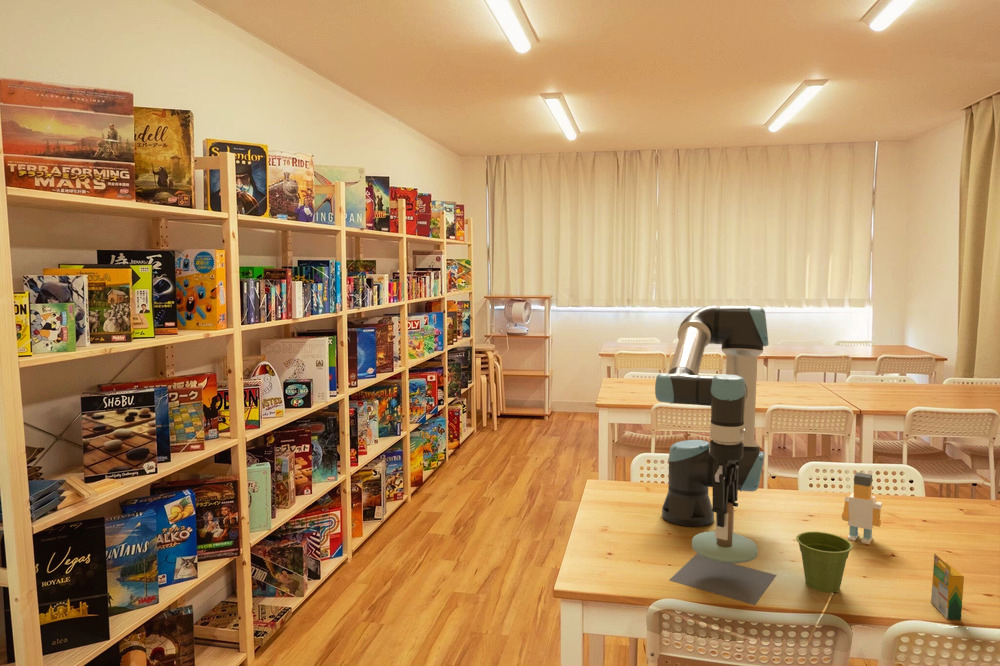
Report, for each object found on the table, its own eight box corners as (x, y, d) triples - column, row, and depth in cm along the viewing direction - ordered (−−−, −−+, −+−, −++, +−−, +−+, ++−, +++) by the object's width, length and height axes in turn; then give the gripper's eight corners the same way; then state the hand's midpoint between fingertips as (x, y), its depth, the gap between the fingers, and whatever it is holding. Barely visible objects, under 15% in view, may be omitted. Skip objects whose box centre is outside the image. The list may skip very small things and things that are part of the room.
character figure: (884, 544, 179) (888, 479, 178) (845, 543, 180) (848, 479, 178) (870, 533, 187) (873, 471, 185) (832, 532, 188) (835, 470, 186)
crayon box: (962, 620, 140) (965, 568, 139) (946, 619, 141) (949, 567, 140) (945, 603, 147) (948, 553, 146) (930, 602, 148) (933, 552, 147)
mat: (668, 582, 158) (668, 580, 158) (696, 556, 172) (696, 554, 172) (754, 607, 146) (754, 604, 146) (776, 577, 160) (776, 574, 160)
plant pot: (786, 575, 161) (788, 531, 160) (835, 576, 161) (837, 531, 160) (807, 599, 150) (809, 551, 149) (860, 600, 149) (862, 552, 148)
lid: (682, 552, 158) (683, 507, 156) (704, 530, 170) (705, 488, 168) (746, 569, 149) (748, 521, 147) (765, 545, 161) (766, 501, 159)
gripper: (731, 451, 147) (728, 551, 150) (753, 435, 160) (750, 527, 163) (698, 446, 152) (696, 543, 154) (722, 430, 165) (720, 520, 168)
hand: (724, 535), depth 159 cm, fingers closed on lid, 3 cm apart
